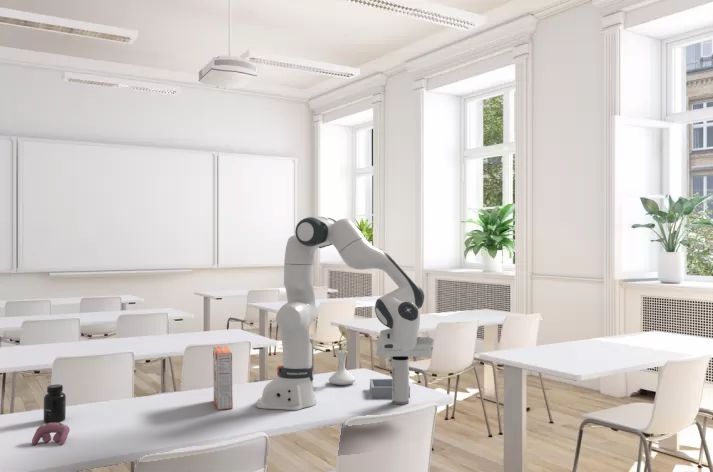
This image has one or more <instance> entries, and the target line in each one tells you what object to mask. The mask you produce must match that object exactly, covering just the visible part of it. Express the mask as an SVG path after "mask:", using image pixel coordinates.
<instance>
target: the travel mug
mask: <svg viewBox="0 0 713 472" xmlns="http://www.w3.org/2000/svg"><path fill="white" fill-rule="evenodd" d="M409 357H410V356H392V361H391V362H392V363H391V364H392V366H391V367H392V369H391V372H392V375H391V377H392V378H391V379H392V398H391V403H392V404H393V405H398V406H399V405H401V406H402V405H403V406H404V405H407V404H409V403H410V402H409V400H410V399H409V386H410V383H409V382H410V381H409V380H410V379H409V378H410V377H409V376H410V372H409V369H410V361H409Z"/></svg>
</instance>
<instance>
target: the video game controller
mask: <svg viewBox="0 0 713 472" xmlns="http://www.w3.org/2000/svg"><path fill="white" fill-rule="evenodd" d="M51 433H52V434H53V433H54V435H53V437H52V435H51ZM69 433H70V426H68V425H66V424H64V423H62V422H58V423H43V424H40V426H39V427H37V429H36V430H35V433H34V435H33V438H32V440H31V445H32V446H36V445H38V443H39V442H40V440H41V439H42V441H43V442H44V443H49V442H50V441H51V440H52V441H54V442H55V443H59V444H60V445H61V446H63V445H64V444H65V443H66V441H67V439H68V435H69Z"/></svg>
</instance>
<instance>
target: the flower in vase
mask: <svg viewBox="0 0 713 472" xmlns="http://www.w3.org/2000/svg"><path fill="white" fill-rule="evenodd" d="M337 327H338V331H339V332H340V335H341V336H340V339H339V341H337V346H339V348H340V350H336V352H335V353H336V354H337V356H338V361H339V366H338V369H337V371H334V373H333V374H332V375H331V376H330V377H329V378H328V382H329V383H330V384H332V385H338V386H346V385H347V386H348V385H351V384H353V383H355V381H356V378H355V376H354V375H352V374H351V373H350V372H349V371H348V370H347V369H346V367H345V365H346V364H345V363H346V356H347V354H348V351H347V350H342V349H343V348H344V347H346V343H344V345H342V346H341V341H342V340H341V339H342V337H344V339H346V340H347V341H350V340H352V338H351V337H352V335H351V334H350V332H349V329H348V328H346V327H345V325H342V324H339V325H338V326H337Z"/></svg>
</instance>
